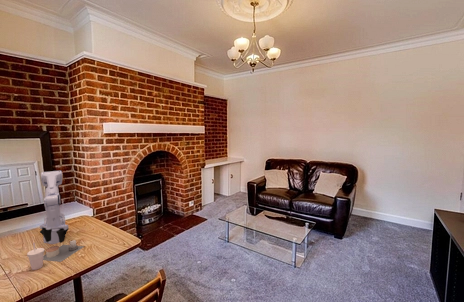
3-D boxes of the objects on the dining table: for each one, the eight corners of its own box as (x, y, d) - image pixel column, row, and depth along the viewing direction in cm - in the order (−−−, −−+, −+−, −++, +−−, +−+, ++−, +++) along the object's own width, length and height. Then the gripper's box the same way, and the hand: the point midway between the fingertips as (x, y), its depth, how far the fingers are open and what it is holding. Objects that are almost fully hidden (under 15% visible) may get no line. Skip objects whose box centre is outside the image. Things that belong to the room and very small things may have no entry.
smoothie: (35, 266, 109) (33, 239, 108) (49, 265, 110) (47, 239, 108) (24, 274, 103) (22, 246, 101) (39, 274, 103) (36, 246, 102)
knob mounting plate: (37, 262, 113) (36, 251, 112) (63, 246, 127) (62, 237, 127) (61, 264, 111) (60, 253, 110) (84, 248, 125) (84, 238, 125)
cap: (44, 257, 115) (43, 250, 114) (53, 251, 120) (53, 245, 119) (52, 257, 114) (52, 251, 114) (61, 252, 119) (61, 246, 119)
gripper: (33, 219, 112) (35, 244, 113) (59, 220, 111) (61, 246, 112) (46, 214, 119) (47, 238, 120) (71, 215, 118) (72, 239, 119)
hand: (55, 241), depth 117 cm, fingers open, 7 cm apart
